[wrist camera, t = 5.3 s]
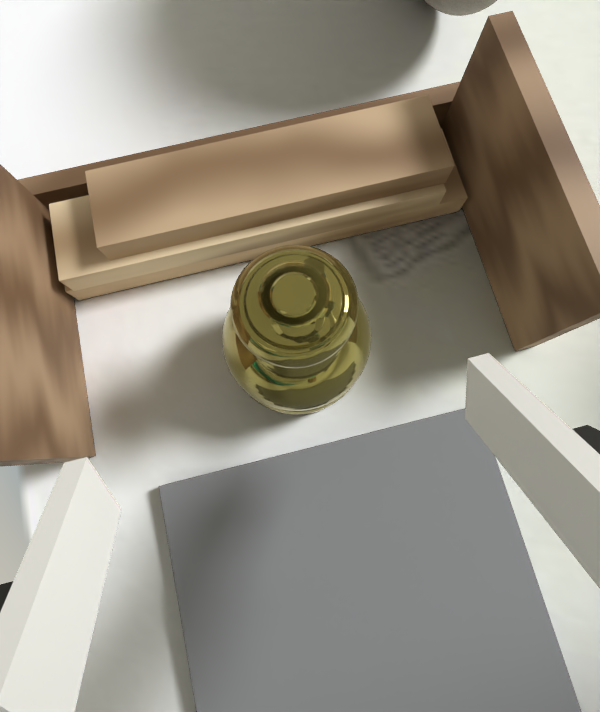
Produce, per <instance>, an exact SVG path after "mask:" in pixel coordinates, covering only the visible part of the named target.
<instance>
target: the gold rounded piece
mask: <svg viewBox="0 0 600 712" xmlns="http://www.w3.org/2000/svg"><path fill="white" fill-rule="evenodd" d="M222 345H223V353H224V357H225V360H226V363H227V366H228V368H229V371H230V372H231V374H232V376H233V377H234V379H235V380H236V382H237V383H238V384H239V385H240V387H241V388H242V389H243V390H244V391H245V392H247V393H248V394H249V395H250V396H251V397H252V398H253V399H254V400H256V401H257V402H259V403H260V404H262V405H264V406H265V407H268V408H270V409H272V410H274V411H277V412H280V413H284V414H291V415H303V414H310V413H314V412H317V411H320V410H323V409H325V408H327V407H329V406H330V405H332V404H333V403H335V402H336V401H338V400H339V399H340V398H342V397H343V396H344V395H345V394H346V393H347V392H348V391H349V390H350V388H351V387H352V386H353V385H354V383H355V382H356V381H357V380H358V378H359V377H360V375H361V373H362V372H363V370H364V368H365V365H366V363H367V360H368V357H369V353H370V347H371V328H370V323H369V319H368V316H367V313H366V310H365V308H364V306H363V304H362V302H361V301H360V299H359V298H358V294H357V290H356V286H355V284H354V281H353V279H352V277H351V275H350V274H349V272H348V271H347V269H346V268H345V267H344V266H343V265H342V264H341V263H340V262H339V261H338V260H337V259H336V258H334V257H333V256H332V255H330V254H328V253H326V252H325V251H322V250H320V249H317V248H314V247H311V246H305V245H286V246H280V247H276V248H273V249H271V250H268V251H266V252H264V253H262V254H261V255H259V256H257V257H256V258H255V259H253V260H252V261H251V262H250V263H249V264H248V265H247V266H246V267H245V268H244V270H243V271H242V272H241V274H240V275H239V277H238V279H237V281H236V283H235V285H234V288H233V291H232V296H231V306H230V308H229V310H228V313H227V315H226V318H225V322H224V326H223V334H222Z"/></svg>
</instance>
